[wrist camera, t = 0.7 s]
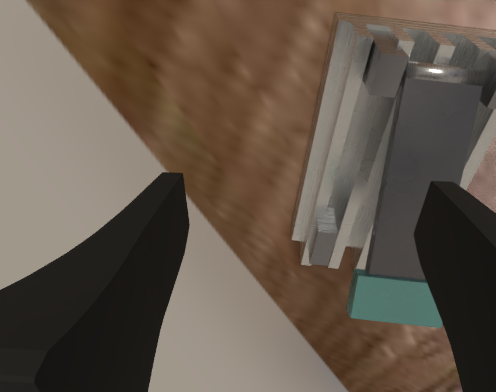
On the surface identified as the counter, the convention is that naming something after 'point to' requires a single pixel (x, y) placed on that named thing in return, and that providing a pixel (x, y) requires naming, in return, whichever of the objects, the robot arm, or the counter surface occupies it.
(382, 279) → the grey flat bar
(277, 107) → the counter surface
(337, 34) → the heat sink
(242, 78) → the counter surface
